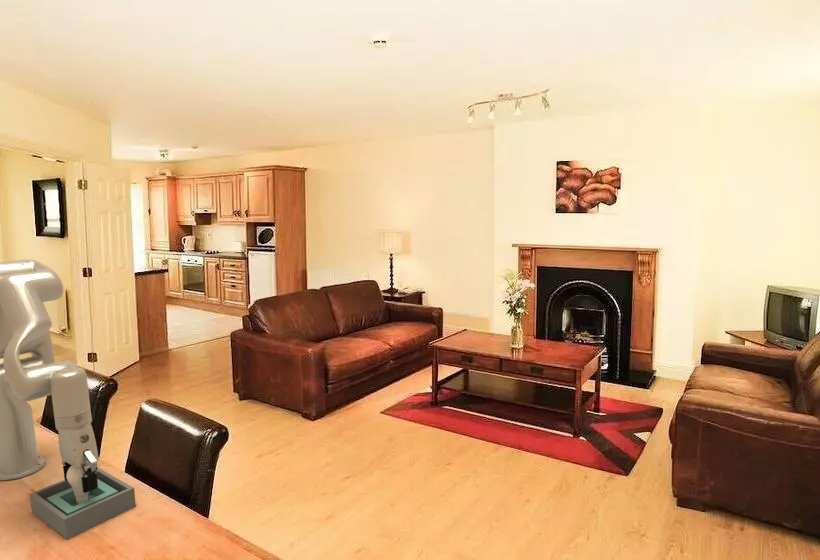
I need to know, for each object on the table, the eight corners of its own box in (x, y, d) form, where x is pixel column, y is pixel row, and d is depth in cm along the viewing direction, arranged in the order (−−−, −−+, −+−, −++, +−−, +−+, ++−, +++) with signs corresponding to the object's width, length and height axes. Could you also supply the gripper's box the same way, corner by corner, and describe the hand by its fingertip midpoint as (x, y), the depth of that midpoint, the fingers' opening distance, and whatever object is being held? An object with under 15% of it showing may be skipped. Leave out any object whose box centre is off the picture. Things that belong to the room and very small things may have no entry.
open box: (135, 506, 136) (134, 487, 136) (66, 539, 124) (64, 519, 123) (98, 484, 147) (96, 466, 146) (31, 512, 134) (29, 493, 134)
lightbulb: (102, 499, 138) (100, 458, 137) (83, 511, 132) (81, 468, 131) (81, 496, 139) (79, 455, 138) (61, 508, 133) (59, 465, 132)
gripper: (107, 421, 130) (114, 487, 132) (73, 406, 140) (80, 468, 142) (73, 433, 124) (81, 502, 126) (40, 416, 134) (49, 480, 136)
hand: (81, 484), depth 134 cm, fingers open, 9 cm apart
